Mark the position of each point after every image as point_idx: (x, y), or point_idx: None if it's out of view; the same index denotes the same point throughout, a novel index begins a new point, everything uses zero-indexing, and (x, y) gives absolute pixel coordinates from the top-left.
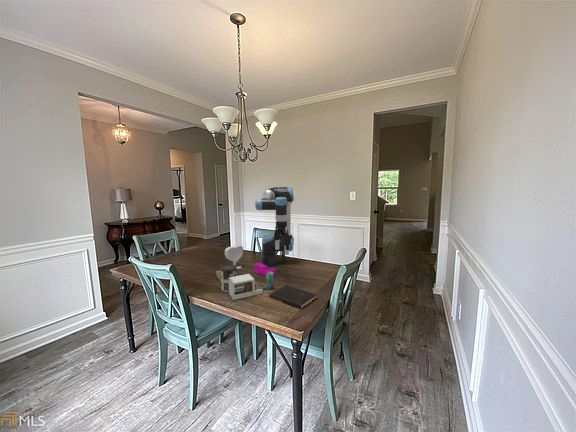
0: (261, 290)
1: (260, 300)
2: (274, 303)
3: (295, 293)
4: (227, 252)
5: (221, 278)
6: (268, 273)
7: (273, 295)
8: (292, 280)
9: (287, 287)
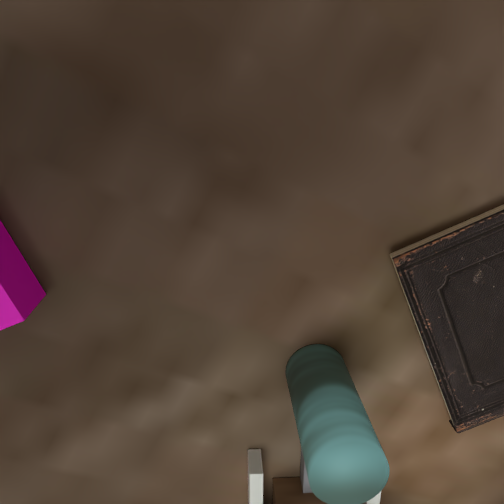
0: None
1: (462, 482)
2: None
3: None
4: None
5: None
6: (356, 489)
7: (498, 417)
8: (260, 108)
9: (449, 271)
